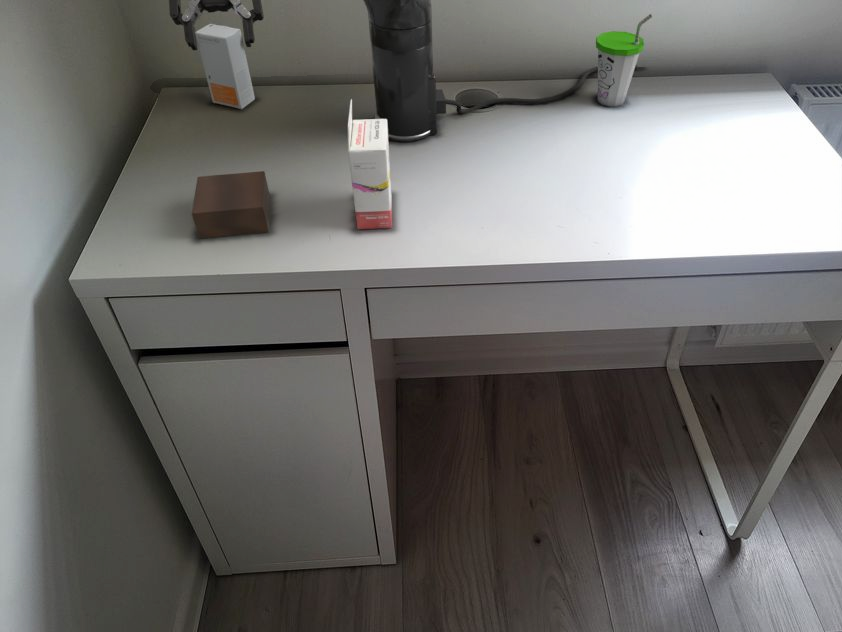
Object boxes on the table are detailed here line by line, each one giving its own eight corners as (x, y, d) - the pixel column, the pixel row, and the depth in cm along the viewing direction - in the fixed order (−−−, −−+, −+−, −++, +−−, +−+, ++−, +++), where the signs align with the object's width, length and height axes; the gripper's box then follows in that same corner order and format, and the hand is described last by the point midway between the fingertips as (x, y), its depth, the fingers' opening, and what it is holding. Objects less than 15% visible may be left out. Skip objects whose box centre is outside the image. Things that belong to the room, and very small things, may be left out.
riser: (269, 195, 101) (264, 170, 98) (268, 232, 95) (262, 207, 92) (204, 201, 100) (197, 176, 97) (199, 238, 94) (191, 213, 91)
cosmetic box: (211, 103, 121) (193, 31, 112) (227, 93, 124) (209, 22, 115) (242, 110, 119) (225, 38, 111) (256, 99, 122) (241, 28, 113)
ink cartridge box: (393, 229, 96) (385, 127, 85) (356, 230, 95) (344, 129, 85) (393, 194, 102) (385, 95, 91) (358, 195, 101) (346, 96, 91)
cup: (578, 98, 123) (589, 8, 113) (610, 86, 127) (624, -3, 116) (610, 115, 119) (625, 23, 108) (643, 103, 122) (660, 12, 112)
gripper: (156, -66, 110) (168, 39, 110) (250, -69, 112) (262, 33, 112) (170, -39, 117) (182, 59, 117) (258, -43, 119) (269, 53, 119)
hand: (221, 46), depth 114 cm, fingers open, 8 cm apart
